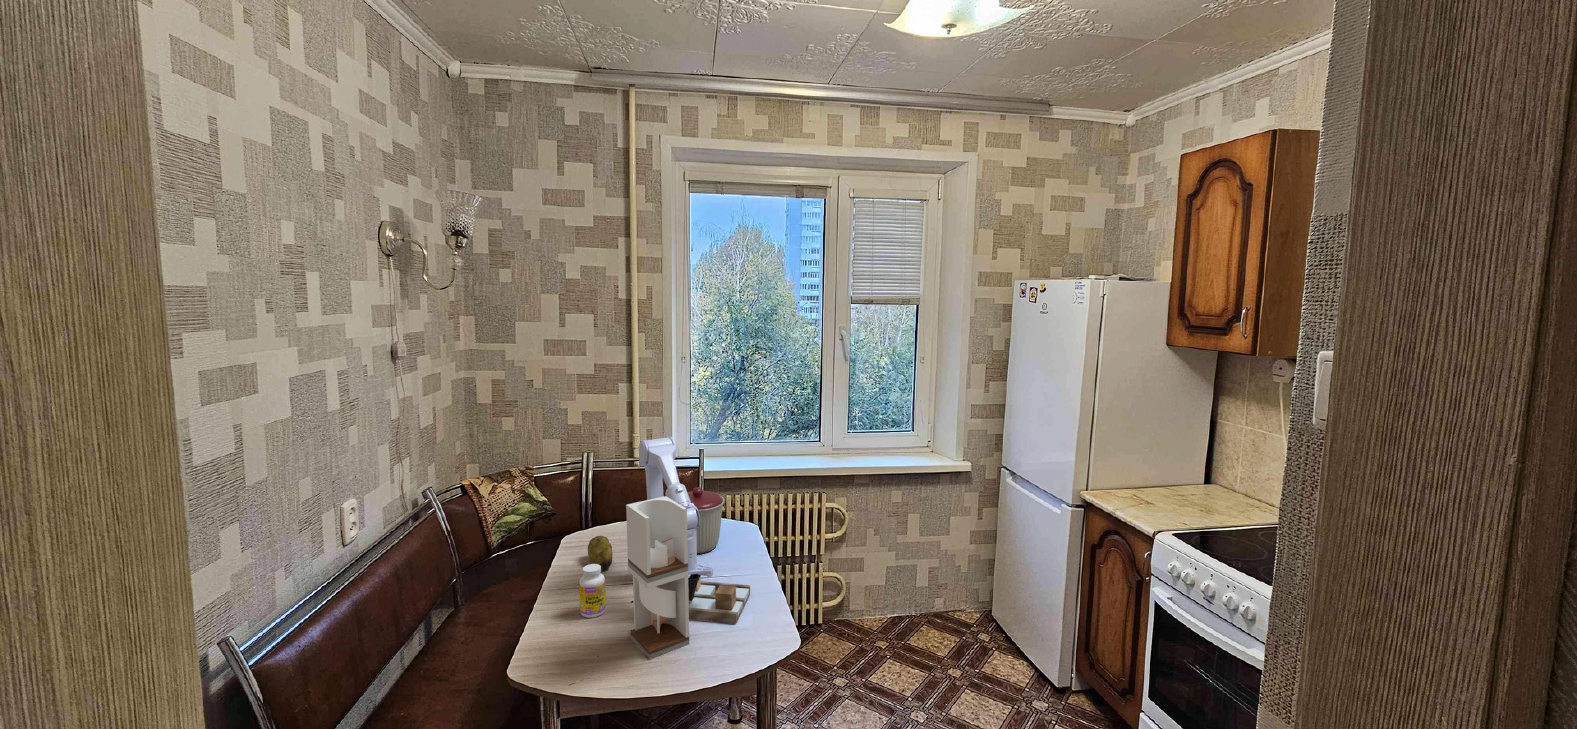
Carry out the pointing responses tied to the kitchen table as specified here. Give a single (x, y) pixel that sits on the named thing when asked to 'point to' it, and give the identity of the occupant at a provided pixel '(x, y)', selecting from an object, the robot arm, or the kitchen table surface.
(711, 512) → the canister
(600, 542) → the potato
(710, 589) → the broken strip
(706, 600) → the strip front
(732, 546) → the kitchen table surface
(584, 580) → the supplement bottle
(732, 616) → the lane board
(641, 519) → the white tiered stand
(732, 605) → the walnut block
